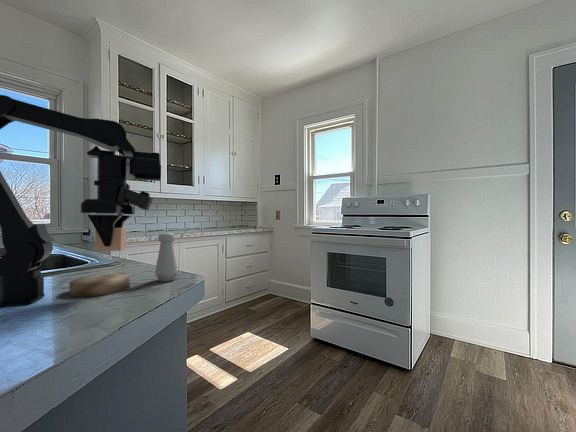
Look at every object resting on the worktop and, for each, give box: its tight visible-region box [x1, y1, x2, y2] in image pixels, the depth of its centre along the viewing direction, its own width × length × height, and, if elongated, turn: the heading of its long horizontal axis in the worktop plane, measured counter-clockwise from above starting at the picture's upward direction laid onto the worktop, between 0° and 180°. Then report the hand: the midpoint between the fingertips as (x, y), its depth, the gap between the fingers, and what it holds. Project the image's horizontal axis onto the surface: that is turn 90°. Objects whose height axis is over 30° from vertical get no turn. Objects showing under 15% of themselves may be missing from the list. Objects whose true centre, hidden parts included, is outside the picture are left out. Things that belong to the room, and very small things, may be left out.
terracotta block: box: [94, 227, 127, 252], centre depth 65 cm, size 5×5×5 cm
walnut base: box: [69, 273, 131, 298], centre depth 67 cm, size 12×12×2 cm
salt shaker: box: [154, 232, 179, 282], centre depth 78 cm, size 6×6×13 cm
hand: (111, 245), depth 65 cm, fingers closed on terracotta block, 5 cm apart
